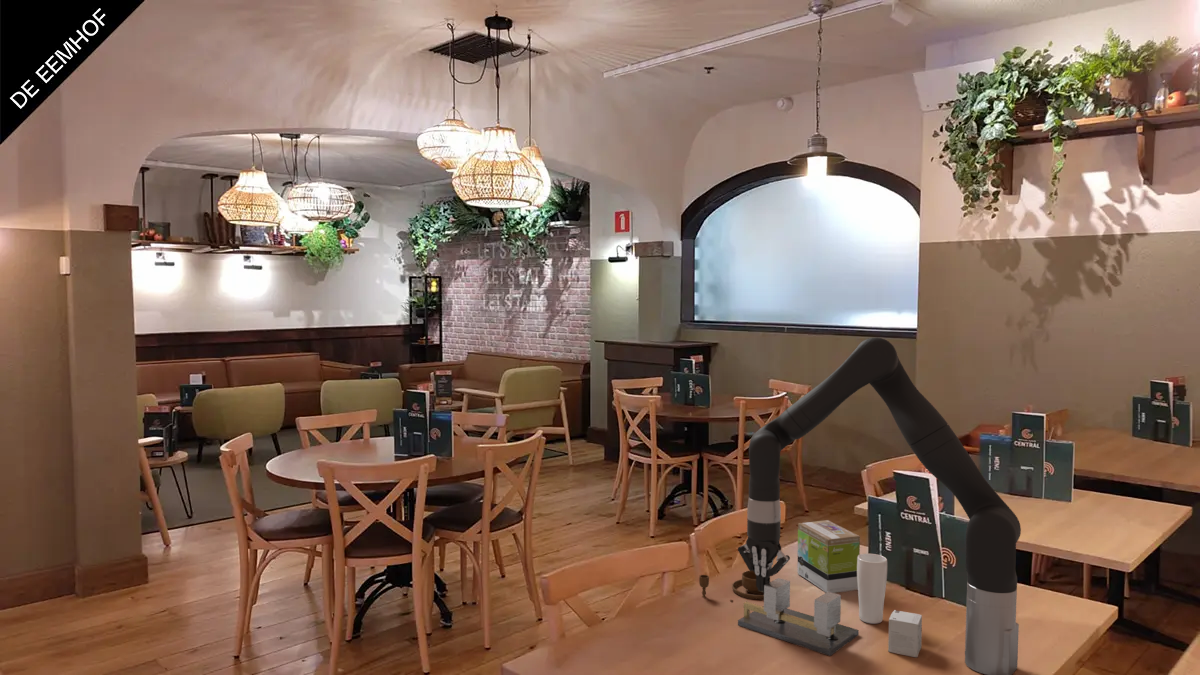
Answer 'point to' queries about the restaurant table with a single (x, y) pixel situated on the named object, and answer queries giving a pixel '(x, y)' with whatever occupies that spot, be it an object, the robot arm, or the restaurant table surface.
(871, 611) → the drinking glass
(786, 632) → the bolt-hole plate
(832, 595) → the beam
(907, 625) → the skincare box
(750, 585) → the place setting
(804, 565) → the tea box
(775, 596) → the block
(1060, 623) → the restaurant table surface
